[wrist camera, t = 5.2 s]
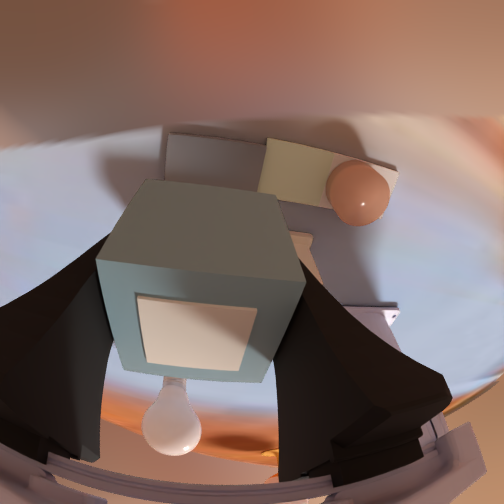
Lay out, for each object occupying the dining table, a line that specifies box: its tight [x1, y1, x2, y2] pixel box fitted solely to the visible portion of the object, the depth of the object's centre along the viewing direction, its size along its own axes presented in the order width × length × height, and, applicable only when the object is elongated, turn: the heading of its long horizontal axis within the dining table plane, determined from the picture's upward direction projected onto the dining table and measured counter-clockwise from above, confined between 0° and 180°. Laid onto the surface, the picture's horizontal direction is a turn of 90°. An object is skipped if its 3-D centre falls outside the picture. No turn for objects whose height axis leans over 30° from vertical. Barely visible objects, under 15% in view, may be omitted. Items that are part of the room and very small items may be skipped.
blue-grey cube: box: [96, 179, 306, 383], centre depth 10 cm, size 5×5×5 cm
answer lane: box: [257, 137, 399, 219], centre depth 18 cm, size 4×10×1 cm, turn 78°
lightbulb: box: [141, 376, 201, 456], centre depth 26 cm, size 6×6×11 cm
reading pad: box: [164, 132, 267, 192], centre depth 17 cm, size 5×6×1 cm
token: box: [325, 160, 390, 226], centre depth 17 cm, size 4×4×2 cm
